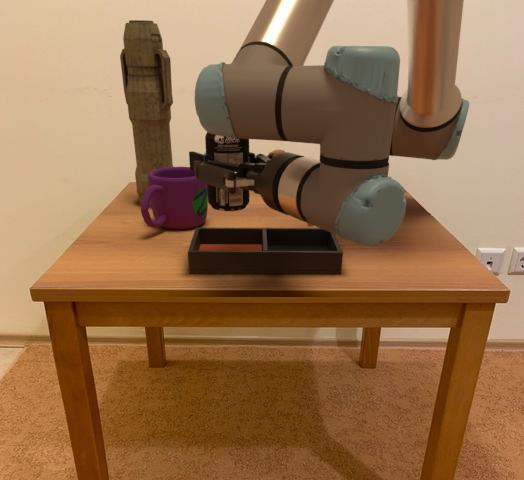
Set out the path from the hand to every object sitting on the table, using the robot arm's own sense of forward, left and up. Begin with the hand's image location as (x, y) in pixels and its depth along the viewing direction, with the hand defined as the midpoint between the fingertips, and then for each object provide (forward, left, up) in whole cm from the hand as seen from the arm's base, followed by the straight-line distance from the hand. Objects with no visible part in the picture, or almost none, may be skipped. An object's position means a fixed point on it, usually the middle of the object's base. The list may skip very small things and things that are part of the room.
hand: (212, 158), depth 82 cm
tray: (-6, +8, -15) cm, 18 cm away
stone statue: (-2, -35, -16) cm, 39 cm away
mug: (+2, -16, -16) cm, 23 cm away
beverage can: (0, +5, -7) cm, 8 cm away
